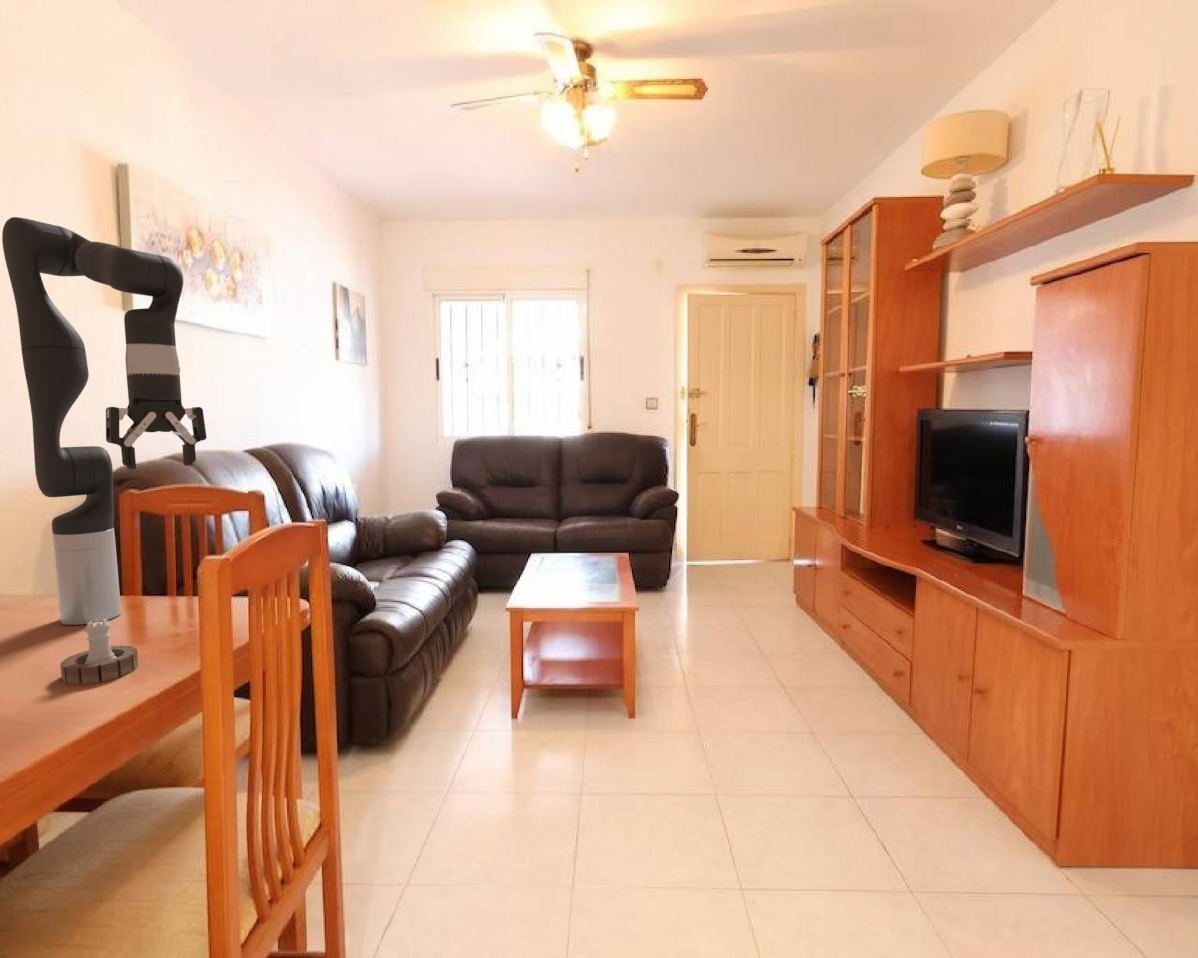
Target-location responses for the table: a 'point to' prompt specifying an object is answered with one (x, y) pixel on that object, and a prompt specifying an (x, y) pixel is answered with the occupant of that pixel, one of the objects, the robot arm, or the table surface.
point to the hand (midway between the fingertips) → (160, 467)
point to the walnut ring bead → (99, 666)
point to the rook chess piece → (99, 642)
